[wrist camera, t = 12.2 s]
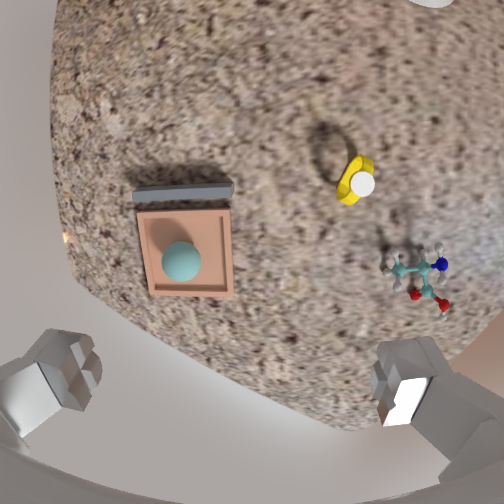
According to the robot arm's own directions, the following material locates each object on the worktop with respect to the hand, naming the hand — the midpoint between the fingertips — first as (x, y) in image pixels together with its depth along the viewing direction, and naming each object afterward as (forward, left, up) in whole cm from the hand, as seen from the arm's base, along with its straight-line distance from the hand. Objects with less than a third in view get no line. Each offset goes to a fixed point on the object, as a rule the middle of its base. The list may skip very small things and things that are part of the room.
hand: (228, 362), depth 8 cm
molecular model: (+12, +22, -31) cm, 40 cm away
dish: (+10, -10, -31) cm, 34 cm away
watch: (0, +11, -31) cm, 33 cm away
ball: (+10, -10, -31) cm, 34 cm away
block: (+1, -9, -31) cm, 32 cm away
